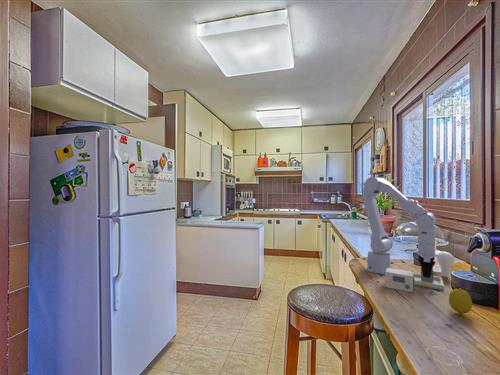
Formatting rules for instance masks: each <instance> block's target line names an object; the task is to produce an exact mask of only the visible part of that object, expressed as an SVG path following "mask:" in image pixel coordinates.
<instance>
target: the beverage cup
mask: <svg viewBox="0 0 500 375" xmlns="http://www.w3.org/2000/svg"><path fill="white" fill-rule="evenodd" d="M440 252H443V251H441V250H437V240H435V254H438V253H440ZM434 261H435V264H434V266H433V273H434V272H435V273H442V272H441V267H440V264H439V263H438V261H437V256H435V259H434Z"/></svg>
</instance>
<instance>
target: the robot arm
mask: <svg viewBox="0 0 500 375" xmlns="http://www.w3.org/2000/svg"><path fill="white" fill-rule="evenodd" d="M381 192H382V193H386V194H388V195H389V196H390V197H392V199H394V200H395V201H396V202H398V203H399V204H400V205H401V209H402V210H403V211H404V212H405V213H406V214H408V215H409V216H410V217H411V218H412V219H413V220H415V223H416V225H417V227H418V230H417V241H418V242H417V255H418V256H417V257H418V259H417V261H418V263H419V264H420V269H421V268H422V273H423V276H424V277H427V278H430V276H431V271H432V268H433V266H434V264H435V261H434V259H435V256H437V257H439V254H435V241H436V227H435V225H436V224H437V220H438V219H437V217H436V215H435V214H434V213H433V212H429V210H428V209H425V208H424V207H423V206H422V205H420V204H419V203H420V202H419V201H418V200H414V199H412V198H411V199H408V198H407V197H406V196H405V195H404V194H403V193H402V192H401V191H399V190H398V189H397V188H396V187H395V186H394V185H393V184H392V183H391V182H390V181H388V180H386V179H385V177H374V176H369V177H368V178H367V179H366V180H365V181H364V183H363V191H362V195H361V197H362V201H363V205H364V209H365V212H366V216H367V219H368V223H369V226H370V230H371V231H370V232H371V234H370V238H369V239H370V249H371V250H368V252H367V272H368V273H373V274H380V275H385V276H386V269H387V268H391V249H392V248H393V242H392V240H391V238H390V237H389V235H388V233H387V232H386V231H385V228H384V224H383V221H382V219H381V215H380V211H379V207H378V203H377V201H376V198H377V196H378V195H379V194H380V193H381Z"/></svg>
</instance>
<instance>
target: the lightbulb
mask: <svg viewBox="0 0 500 375" xmlns="http://www.w3.org/2000/svg"><path fill="white" fill-rule="evenodd" d="M438 254H439V257H437V261H438V263H439V264H440V267H441V272H440V273H441V276H443V277H444V278H447V277H449V276H450V271H451V267H452V265H453V264H454V263H455V257H454V255H452V253H450V252H448V251H442V252H440V253H438Z"/></svg>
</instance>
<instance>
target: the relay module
mask: <svg viewBox="0 0 500 375" xmlns="http://www.w3.org/2000/svg"><path fill="white" fill-rule="evenodd" d="M420 274H421V281H425V282H431V283H433V276H434V271H433V268H432V271H431V276H430V278H427V277H424V276H423V273H422V268H421V267H420Z"/></svg>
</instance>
